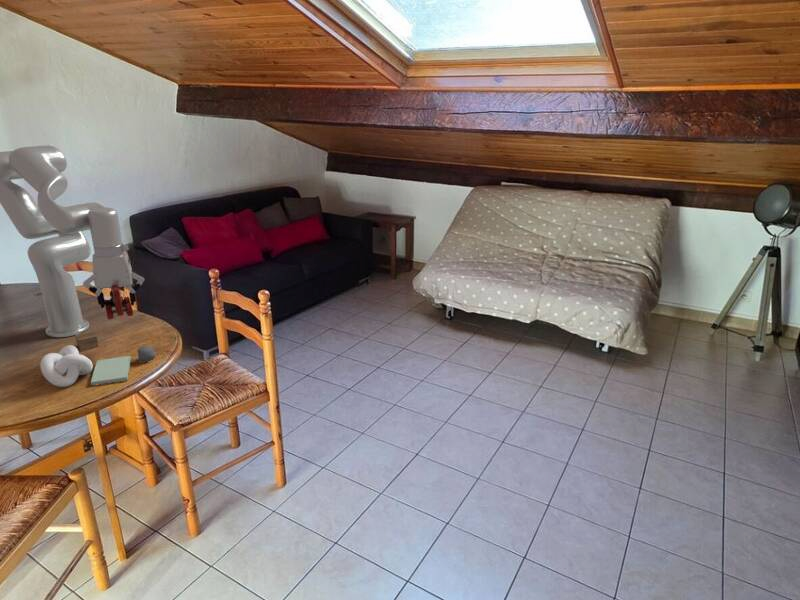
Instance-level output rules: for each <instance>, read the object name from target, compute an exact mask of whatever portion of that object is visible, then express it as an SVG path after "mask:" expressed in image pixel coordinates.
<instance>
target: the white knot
mask: <svg viewBox="0 0 800 600" xmlns="http://www.w3.org/2000/svg"><path fill="white" fill-rule="evenodd" d="M78 349H79V348H77V347H76V346H74V345H72V344H69V345H66V346H63V347H62V348H61V349H60V350H59V352H49V353H48V354H47V353H46V354H45V355H44V356H43V357H42V359H41V361H40V366H39V367H40V371H41V373H42V375H43V377H44V378H45V380H47V381H48V382H49V383H50V384H51V385H53V386H56V387H60V388H66V387H70V386H72V385H73V384H75V383H76V381H77V380H78V377H79V376H86V375H87V374H89V373H91V372H92V371H93V368H94V367H93V366H94V365H93V362H92V361H91V359H89V358H88V357H87V356H85V355H83V354H80V352H79V350H78Z"/></svg>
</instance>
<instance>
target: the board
mask: <svg viewBox="0 0 800 600" xmlns="http://www.w3.org/2000/svg"><path fill="white" fill-rule="evenodd" d="M131 362H132V356H131V355H127V356H119V357H114V358H113V357H112V358H106V359H105V358H104V359H97V361H96V362H95V367H94V370H93V373H92V377H91V378H90V379H91V380H90V386H91V385H95V386H97V385H96V384H101V385H104V384H103V383H108V384H111V383H110V382H115V383H119V382H118V381H122V382H125V381H124V380H127V379H128V380H129V375H128V373H129V374H130V369H131V364H130V363H131ZM129 368H130V369H129ZM128 380H127V381H128Z"/></svg>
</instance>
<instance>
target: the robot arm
mask: <svg viewBox="0 0 800 600" xmlns="http://www.w3.org/2000/svg"><path fill="white" fill-rule="evenodd" d="M67 163H68V162H67V158H66V156H65V154H64V153H63V152H62V151H61V150H60V149H59V148H57V147H56V146H53V145H34V146H24V147H23V146H22V147H18V148H16V149H14V150H7V151H0V205H1V207H2V209H3V210H4V211H5V213H6V215H7V217H8V218H9V220H10V221H11V223H12V224H13V226H14V228H15V229H16V230H17V232H18V233H19V235H21V237H22V238H24V239H26V240H35V239H40V240H39V241H35V242H33V243H32V244H30V245H29V247H28V248H27V256H28V260H29V261H30V263H31V266H32V268H33V270H34V272H35V275H36V277H37V281H38V285H39V289H40V292H41V296H42V300H43V304H44V308H45V312H46V316H47V320H48V323H49V325H48V326H47V327H46V328H45V334H46V336H48V337H51V338H66V337H72V336H75V334H80V333H84V332H86V331H87V330H88V329H89V327H90V322H89V321H88V320H86V319H83V314H82V310H81V306H80V302H79V298H78V293H77V288H76V283H75V280H74V277H73V275H71V273H69V272H67V271H66V270H65V269H64V267H66V266H70V265H73V264H76V263H78V262H79V263H80V262H82V261H85V260H87V259H88V258H89V257H90V255H91V252H92V250H91V247H90V244H89V241H88V239H87V238H86V236H85V234H84V232H86V231H90V234H91V235H90V236H91V242H92V246H93V251H94V253H93V254H92V261H91V263H92V265H91V266H92V275H90V276H89V277H88V278H87V279H85V280H84V281H83V282H82V286H84V287H85V288H86V289H87V290H88V291H89V292H91V293H92V294H94V296H95V297H96V299H97V303H98V306H99V305H100V308H101V309H103V308H105V307H106V306H105V300H106V299H105V295H104V292H102V291H103V290H104V289H111V288H112V286H118V288H126V289H127V290H128V291H129V295H128V296H129V299H130V303H131V305H132V307H133V306H135V303H136V302H137V296H136V292H138V291H137V290H139V289H140V288H141V286H142V284H144V282H145V278H144V277H143V276H141V275H139V274H137V273H136V272H135V271H133V269H132V265H131V264H132V263H131V260H130V257H129V254H128V252H126V251H129V250H130V248H129V245H125V244H124V243H123V240H122V234H121V233H122V232H121V226H120V220H119V214H118V212H117V210H116V209H115V208H112V207H105V206H104V205H102V204H100V203H98V202H87V203H79V204H74V205H70V206H62V205H60V204H57V203H56V202H55V200H56V199H58V198H59V197H61V196H62V195H63V194H64V193H65V192H66V190H67V189H68V184H69V183H68V179H67V177H66V176H65V175H64V174H63V173H62V172H65V170H66V169H67V166H68V164H67ZM21 179H23V180H24V181H26V183H27V184H29V185H30V186H31V187H32V188H33V190H35V191H36V192H37V193H38V194H37V198H36V199H37V202H36V201H35V200H34V198H33V195H31V193H30V192H29V191H28V190H26V188H23V187H22V186H20V185H19V184H17V183H14V182H13V181H12V180H21ZM54 235H58V236H54ZM50 236H54V237H51V238H50ZM47 237H49V238H47ZM41 238H45V239H41ZM134 280H137V281H136V283H135V284H134V283H133V281H134ZM92 282H93V283H94V286H93V285H92V284H91V283H92Z"/></svg>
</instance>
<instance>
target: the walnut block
mask: <svg viewBox="0 0 800 600" xmlns="http://www.w3.org/2000/svg"><path fill="white" fill-rule="evenodd" d="M74 337H75V341H76V345H77V347H78V349H79V351H80V352H84V351H88V350H91V349H95V347H96V348H99V347H100V346H99V342H98V338H97V335H96V333H95V332H94V330H88V331H84V332H82V333H79V334H75V335H74ZM87 349H88V350H87ZM83 350H84V351H83Z"/></svg>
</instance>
